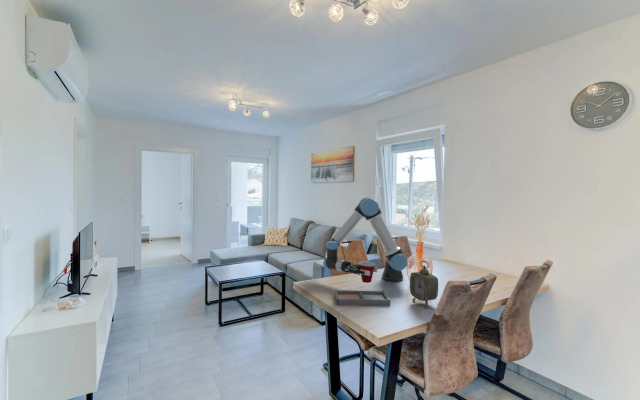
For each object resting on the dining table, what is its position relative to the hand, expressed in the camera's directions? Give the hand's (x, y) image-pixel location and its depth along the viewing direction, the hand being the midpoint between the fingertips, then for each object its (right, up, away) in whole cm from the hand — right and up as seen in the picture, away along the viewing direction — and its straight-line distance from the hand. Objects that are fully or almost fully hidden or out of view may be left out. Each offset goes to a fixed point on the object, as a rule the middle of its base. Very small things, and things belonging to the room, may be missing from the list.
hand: (373, 271), depth 192 cm
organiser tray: (-9, -14, -13) cm, 21 cm away
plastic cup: (-4, -7, +3) cm, 9 cm away
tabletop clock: (+26, -15, -17) cm, 34 cm away
